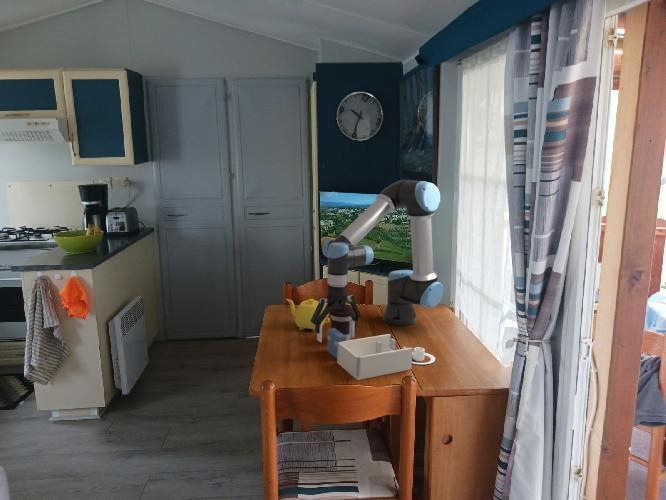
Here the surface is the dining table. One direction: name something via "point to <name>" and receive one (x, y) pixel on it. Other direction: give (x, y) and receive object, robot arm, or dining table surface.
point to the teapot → (306, 314)
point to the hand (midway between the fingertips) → (335, 338)
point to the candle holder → (421, 355)
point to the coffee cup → (341, 321)
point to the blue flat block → (334, 340)
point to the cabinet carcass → (373, 357)
